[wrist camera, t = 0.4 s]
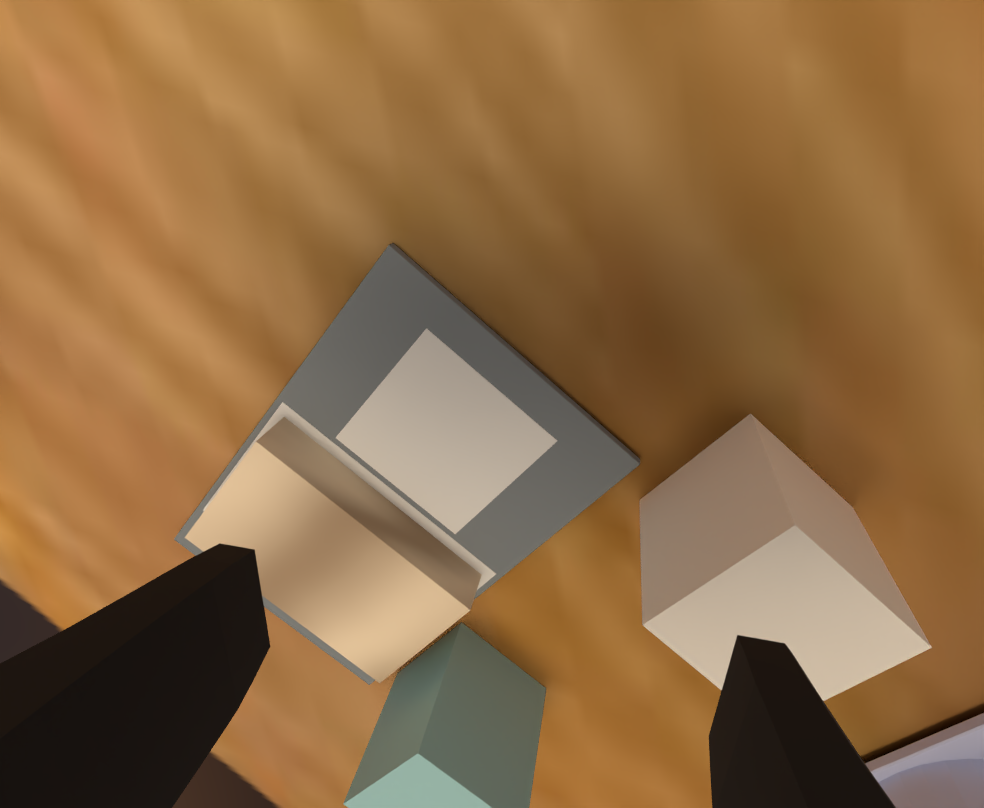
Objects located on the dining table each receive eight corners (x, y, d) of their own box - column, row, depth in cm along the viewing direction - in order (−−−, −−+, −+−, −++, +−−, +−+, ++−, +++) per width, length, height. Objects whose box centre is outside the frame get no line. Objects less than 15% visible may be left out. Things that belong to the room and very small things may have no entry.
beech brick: (481, 574, 20) (470, 610, 18) (395, 646, 22) (379, 683, 21) (284, 416, 19) (256, 441, 17) (214, 508, 21) (184, 537, 20)
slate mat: (639, 458, 17) (639, 464, 17) (372, 678, 24) (369, 685, 23) (392, 243, 16) (388, 245, 16) (179, 534, 22) (173, 539, 22)
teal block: (546, 687, 22) (525, 832, 18) (477, 732, 24) (443, 874, 19) (461, 621, 22) (417, 753, 17) (398, 672, 23) (343, 804, 19)
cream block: (852, 506, 17) (931, 647, 12) (734, 581, 19) (767, 728, 14) (750, 412, 16) (795, 525, 12) (639, 499, 18) (642, 625, 14)
